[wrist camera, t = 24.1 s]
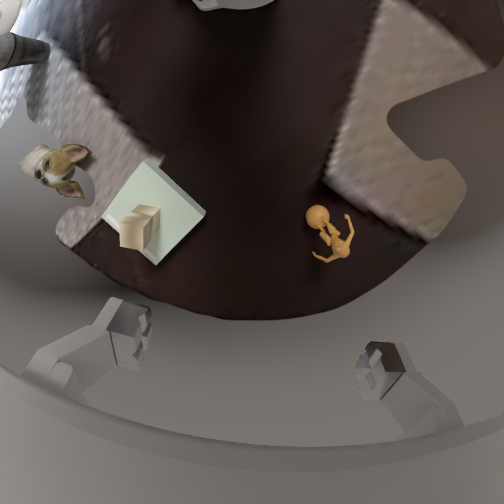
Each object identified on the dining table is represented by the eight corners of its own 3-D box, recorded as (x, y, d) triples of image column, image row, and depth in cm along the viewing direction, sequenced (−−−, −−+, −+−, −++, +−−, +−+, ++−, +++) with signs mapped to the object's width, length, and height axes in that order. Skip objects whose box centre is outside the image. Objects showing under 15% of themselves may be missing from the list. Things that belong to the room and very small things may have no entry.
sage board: (107, 211, 50) (101, 217, 47) (148, 157, 45) (142, 161, 42) (159, 258, 54) (155, 265, 52) (206, 211, 49) (203, 217, 47)
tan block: (138, 225, 48) (120, 246, 41) (139, 204, 46) (119, 222, 39) (159, 228, 48) (143, 250, 41) (160, 207, 47) (143, 227, 40)
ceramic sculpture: (15, 140, 34) (76, 156, 37) (42, 130, 41) (99, 145, 44) (12, 193, 39) (69, 214, 42) (36, 178, 46) (90, 196, 49)
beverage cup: (29, 72, 34) (-43, 80, 17) (33, 41, 31) (-37, 40, 13) (52, 65, 35) (-23, 68, 17) (57, 32, 31) (-16, 24, 14)
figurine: (321, 187, 47) (339, 214, 36) (347, 207, 48) (369, 238, 38) (292, 224, 50) (300, 259, 40) (318, 241, 52) (331, 279, 41)
